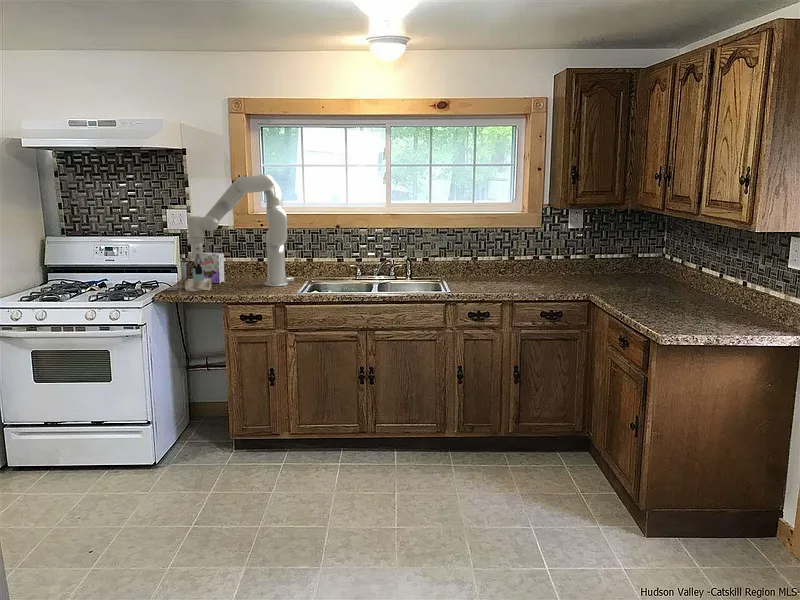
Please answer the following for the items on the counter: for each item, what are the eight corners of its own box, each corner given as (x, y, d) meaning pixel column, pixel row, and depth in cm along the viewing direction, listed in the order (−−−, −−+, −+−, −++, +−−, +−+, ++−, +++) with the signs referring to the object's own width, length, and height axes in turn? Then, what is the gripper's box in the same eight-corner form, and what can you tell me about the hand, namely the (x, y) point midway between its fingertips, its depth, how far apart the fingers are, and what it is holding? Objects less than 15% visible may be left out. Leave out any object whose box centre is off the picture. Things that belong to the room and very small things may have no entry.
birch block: (211, 287, 351) (211, 278, 350) (209, 291, 340) (209, 281, 339) (188, 288, 349) (187, 278, 348) (185, 291, 337) (184, 282, 336)
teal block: (202, 279, 347) (202, 268, 345) (204, 280, 342) (203, 269, 341) (193, 279, 345) (192, 268, 343) (194, 281, 340) (193, 269, 339)
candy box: (197, 282, 365) (196, 253, 362) (203, 281, 370) (202, 252, 367) (219, 283, 361) (218, 254, 358) (225, 282, 366) (223, 253, 363)
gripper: (205, 241, 333) (206, 274, 336) (202, 238, 349) (204, 270, 352) (189, 242, 330) (191, 275, 333) (188, 239, 346) (189, 271, 349)
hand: (198, 272), depth 343 cm, fingers open, 9 cm apart
